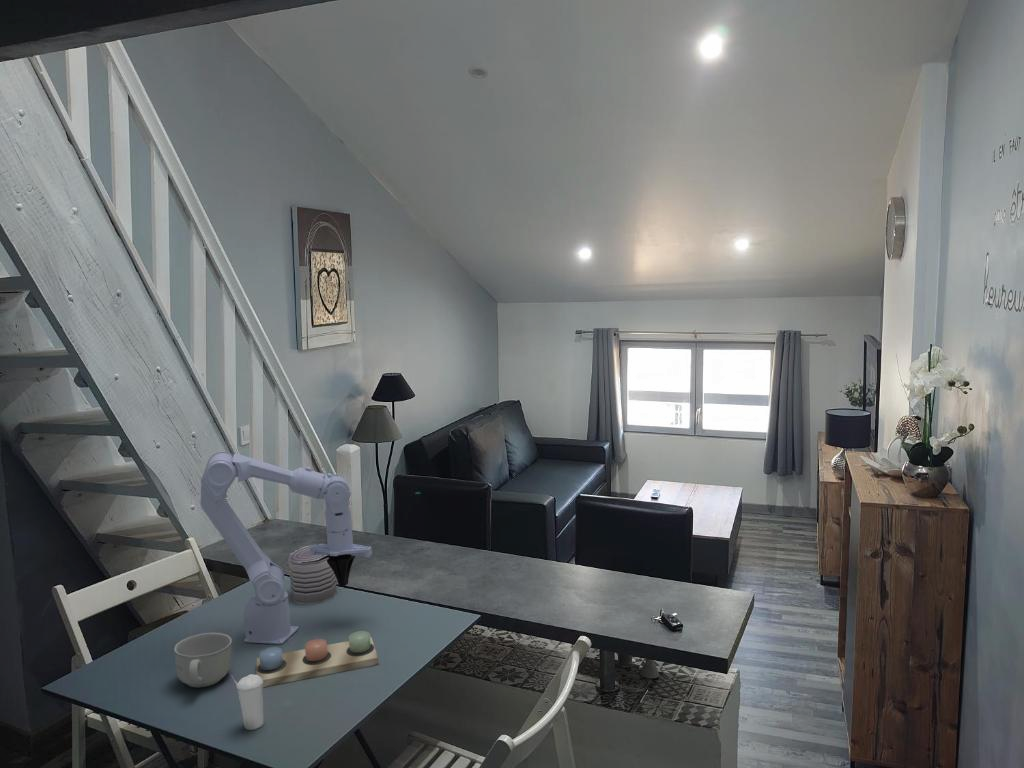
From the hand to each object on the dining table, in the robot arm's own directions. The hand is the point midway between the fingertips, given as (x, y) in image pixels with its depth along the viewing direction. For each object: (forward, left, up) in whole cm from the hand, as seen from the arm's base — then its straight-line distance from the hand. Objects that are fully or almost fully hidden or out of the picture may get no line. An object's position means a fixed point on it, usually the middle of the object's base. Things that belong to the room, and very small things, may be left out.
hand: (343, 585), depth 173 cm
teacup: (-18, -29, -10) cm, 36 cm away
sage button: (+10, -15, -7) cm, 19 cm away
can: (-15, +14, -10) cm, 23 cm away
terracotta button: (+2, -19, -7) cm, 21 cm away
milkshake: (0, -41, -10) cm, 42 cm away
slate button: (-6, -24, -7) cm, 25 cm away
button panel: (+2, -19, -9) cm, 21 cm away
